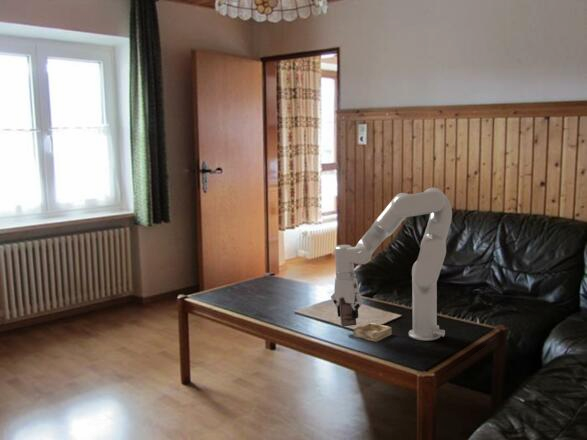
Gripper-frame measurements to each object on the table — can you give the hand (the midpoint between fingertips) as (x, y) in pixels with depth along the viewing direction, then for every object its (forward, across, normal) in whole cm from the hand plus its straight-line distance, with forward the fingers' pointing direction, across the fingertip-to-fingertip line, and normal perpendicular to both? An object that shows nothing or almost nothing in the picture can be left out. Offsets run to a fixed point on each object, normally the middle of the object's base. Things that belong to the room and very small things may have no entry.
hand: (348, 316), depth 250 cm
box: (+4, 0, 0) cm, 4 cm away
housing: (+8, -9, -4) cm, 12 cm away
